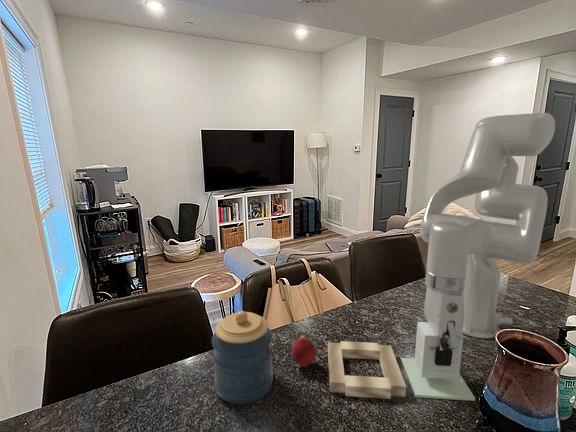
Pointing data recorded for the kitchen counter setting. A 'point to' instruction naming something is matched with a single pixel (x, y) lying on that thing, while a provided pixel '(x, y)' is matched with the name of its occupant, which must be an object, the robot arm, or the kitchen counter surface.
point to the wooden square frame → (362, 384)
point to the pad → (435, 384)
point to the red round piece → (303, 351)
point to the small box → (426, 354)
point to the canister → (242, 358)
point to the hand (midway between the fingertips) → (437, 354)
